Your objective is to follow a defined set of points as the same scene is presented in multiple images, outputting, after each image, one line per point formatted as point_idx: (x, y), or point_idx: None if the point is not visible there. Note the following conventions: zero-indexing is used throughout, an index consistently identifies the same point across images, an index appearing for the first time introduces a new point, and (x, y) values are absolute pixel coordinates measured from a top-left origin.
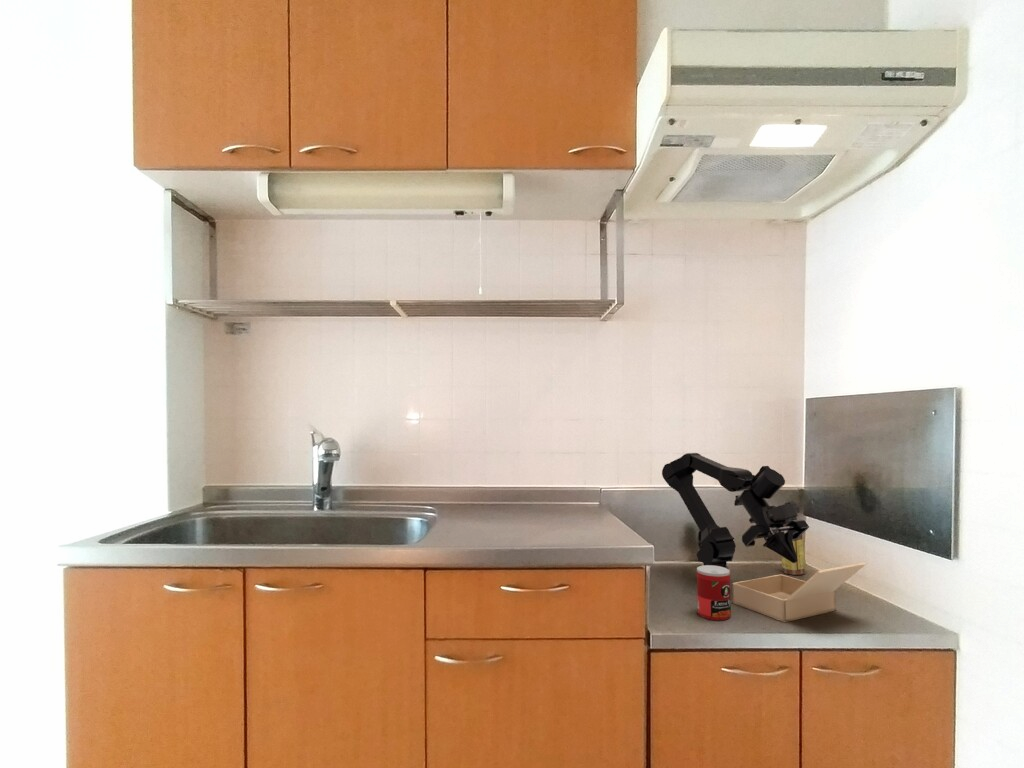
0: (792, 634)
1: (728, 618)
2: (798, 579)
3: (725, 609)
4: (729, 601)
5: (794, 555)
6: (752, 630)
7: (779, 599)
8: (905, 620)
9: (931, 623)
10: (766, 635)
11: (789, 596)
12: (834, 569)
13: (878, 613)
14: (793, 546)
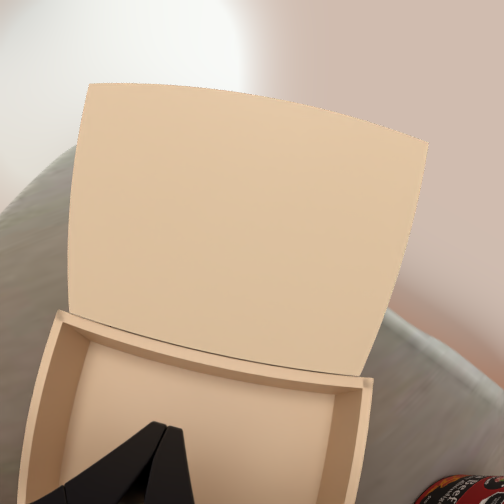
0: (399, 317)
1: (438, 481)
2: (22, 471)
3: (469, 476)
4: (467, 484)
5: (151, 451)
6: (453, 390)
7: (370, 401)
8: (68, 189)
9: (63, 158)
10: (451, 349)
11: (365, 361)
12: (322, 111)
13: (47, 243)
14: (59, 492)
